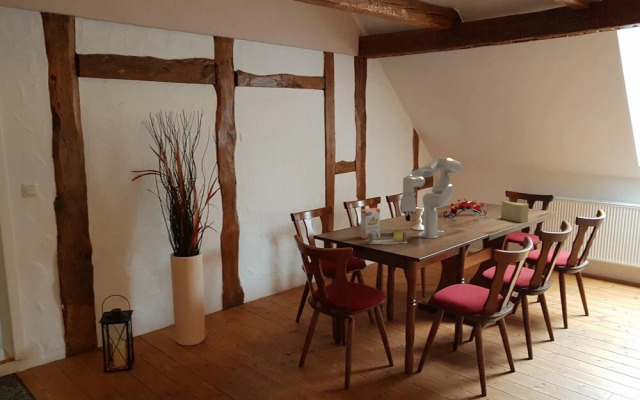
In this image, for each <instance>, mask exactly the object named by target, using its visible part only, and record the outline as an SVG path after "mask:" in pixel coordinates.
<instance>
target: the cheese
mask: <svg viewBox="0 0 640 400" xmlns="http://www.w3.org/2000/svg"><path fill="white" fill-rule="evenodd" d="M501 202H502V203H501V209H500V213H501V214H500V218H501V219H502V220H508V221H511V222H517V223H520V224H523V223H526V222H528V221H529V203H523V202H514V201H506V200H504V201H501Z"/></svg>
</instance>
